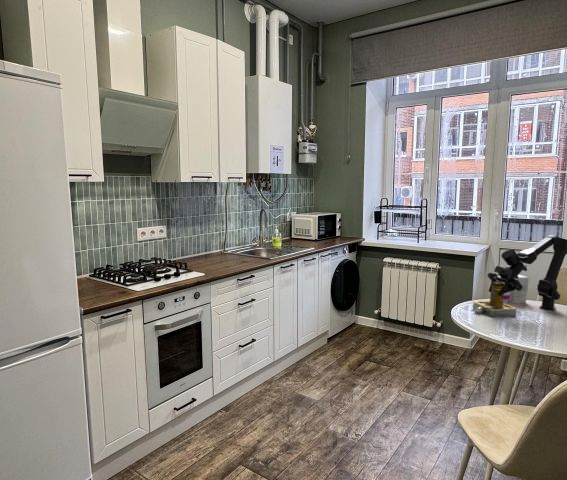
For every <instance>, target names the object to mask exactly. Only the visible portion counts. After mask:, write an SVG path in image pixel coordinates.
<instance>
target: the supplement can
mask: <svg viewBox="0 0 567 480" xmlns="http://www.w3.org/2000/svg"><path fill="white" fill-rule="evenodd" d="M497 275H498V274H497ZM498 277H500V276H499V275H498ZM500 283H503V282H500ZM503 284H505V283H503ZM509 299H510V292H507V293H504V300H503V303H504V304H507V305H509V304H510V302H509Z"/></svg>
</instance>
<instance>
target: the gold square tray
mask: <svg viewBox="0 0 567 480" xmlns="http://www.w3.org/2000/svg"><path fill="white" fill-rule="evenodd" d="M484 303H490V300H477V301H476V300H475V301H473V303H472V309H473V312H474V313H475V314H484V315H486V316H489V317H492V318H502V317H516V316H517V307H514V306H511V305H509V304H504V303H503V306H505V307H489V306H487V305H485V304H484Z"/></svg>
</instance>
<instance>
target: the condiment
mask: <svg viewBox="0 0 567 480" xmlns="http://www.w3.org/2000/svg"><path fill="white" fill-rule="evenodd" d="M492 284H493V285H492V288H491V292H490V297H489V301H490V303H484V304H485V305H487V306H489V307H505V306H503V300H504V294H502V295H498V293H499V291H500V290H501V289H502V288H503V286H504V284H503V283H500V282H493V283H492Z"/></svg>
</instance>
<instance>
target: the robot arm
mask: <svg viewBox="0 0 567 480" xmlns="http://www.w3.org/2000/svg"><path fill="white" fill-rule="evenodd" d="M550 247H552V249H553V252H554V253H553V255H552V258H551V261H550V263H549V266H548V269H547V272H546V275H545V277H544V278H543V279H541V278H540V279H539V280H538V284H537V288H536V290H537V292H538V296H540V297H542V299H541V305H540V306H539V309H541V310H542V309H543V310H546V311H552V312H554V311H555V310H556V308H557V307H555V304H556V301H558V300H560V298H561V294H560V293H559V292H558V282H557V279H558V276H559V275H560V274H559V273H560V271H561V268H562V265H563V264H564V263H563V262H564V259H565V257H566V255H567V237H564V236H563V237H562V236H557V235H552V234H551V235H550V234H548V235H546V236H545V238H543V239H542V240H540V241H539V242H537V243H536V244H534V245H533V246H532V247H530V248H527V249H523V250H521V251H519V252H518V253H517V252H516V250H515V249H514V248H509V249H508V250H506V251H503V252H502V253H501V255H500V256H501V258H502V260H503V261H504V262H505V263H506V265H508V267H506V266H505V267H502V266H498V265H496V266H495V268H494V270H493V272H489V273H488V274H487V275H486V276H487V277H488V278H489V280H490V281H491V282H490V286H489V288H488V292H489V293H491V288H492V285H493V284H492V283H493V282H503V283H505V284H504V286H503V288H502V289H501V290H500V291H499V293H498V295H502V294H504V293H507V292H510V291H515V289H516V290H518V291H521V289H522V288H523V286H522V284H521V283H520V282H519V281H518V280H516V279H515V278H517V279H518V278H519V277H518V275H521V273H522V272H523V271H524V272H528V267H527V266H528V265H531V264H533V263H534V262H535V261H536V260H537V258H538V256H539V255H541V254H542V253H543V252H545V251H546V250H548V249H549V248H550ZM525 264H526V265H525ZM494 272H495V273H494ZM498 275H499V276H500V277H498Z"/></svg>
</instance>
